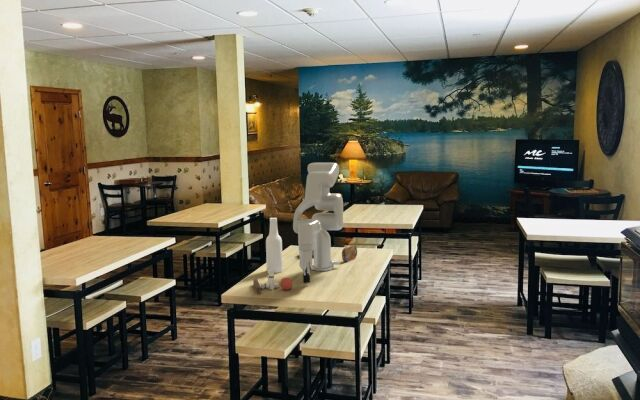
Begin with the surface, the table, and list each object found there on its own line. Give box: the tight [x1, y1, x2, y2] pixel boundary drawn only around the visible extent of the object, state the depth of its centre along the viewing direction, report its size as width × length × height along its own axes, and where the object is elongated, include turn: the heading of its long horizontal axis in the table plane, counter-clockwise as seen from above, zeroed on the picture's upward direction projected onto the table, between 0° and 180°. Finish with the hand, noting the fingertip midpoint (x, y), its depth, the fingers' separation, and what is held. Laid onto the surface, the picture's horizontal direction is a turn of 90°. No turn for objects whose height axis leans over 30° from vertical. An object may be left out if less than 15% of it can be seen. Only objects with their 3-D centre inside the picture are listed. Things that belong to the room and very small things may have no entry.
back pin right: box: [267, 269, 273, 284], centre depth 267 cm, size 2×2×8 cm
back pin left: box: [268, 272, 275, 291], centre depth 262 cm, size 2×2×8 cm
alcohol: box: [265, 217, 284, 274], centre depth 295 cm, size 9×9×30 cm
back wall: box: [252, 278, 262, 295], centre depth 264 cm, size 2×16×3 cm, turn 13°
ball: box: [279, 276, 293, 291], centre depth 262 cm, size 6×6×6 cm
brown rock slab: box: [341, 244, 358, 263], centre depth 320 cm, size 15×3×8 cm, turn 148°
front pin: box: [260, 282, 280, 290], centre depth 265 cm, size 2×2×8 cm
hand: (306, 282), depth 269 cm, fingers closed
